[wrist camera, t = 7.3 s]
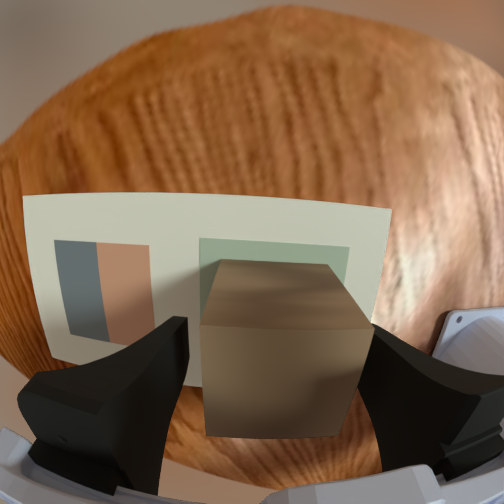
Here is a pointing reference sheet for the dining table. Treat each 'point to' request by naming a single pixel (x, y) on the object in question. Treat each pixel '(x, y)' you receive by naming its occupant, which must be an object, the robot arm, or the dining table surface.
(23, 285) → the dining table surface
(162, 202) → the placemat
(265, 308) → the walnut block
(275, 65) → the dining table surface
